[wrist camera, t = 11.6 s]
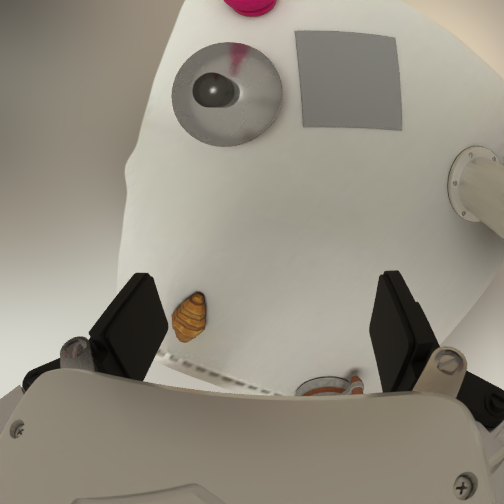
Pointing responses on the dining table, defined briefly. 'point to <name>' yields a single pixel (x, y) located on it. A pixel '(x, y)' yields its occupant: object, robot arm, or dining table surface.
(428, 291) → the dining table surface
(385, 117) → the mat
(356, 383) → the mug
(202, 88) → the lid
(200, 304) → the croissant
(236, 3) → the pepper mill
